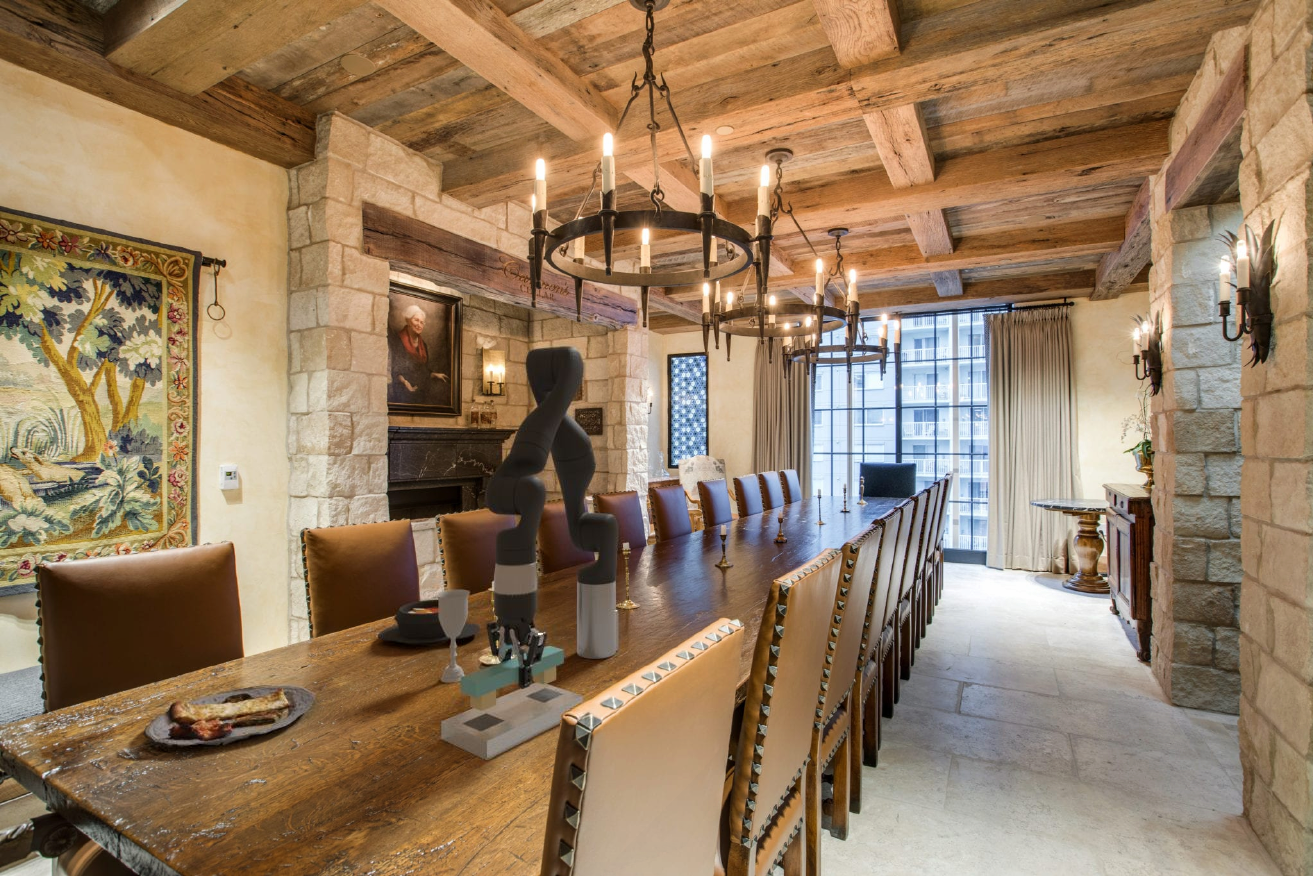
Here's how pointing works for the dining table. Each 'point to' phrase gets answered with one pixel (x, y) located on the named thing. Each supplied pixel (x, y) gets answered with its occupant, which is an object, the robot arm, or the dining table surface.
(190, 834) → the dining table surface
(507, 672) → the strip bar
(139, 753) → the dining table surface
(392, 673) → the dining table surface
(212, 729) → the food plate
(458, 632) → the chalice
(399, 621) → the casserole
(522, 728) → the plate
